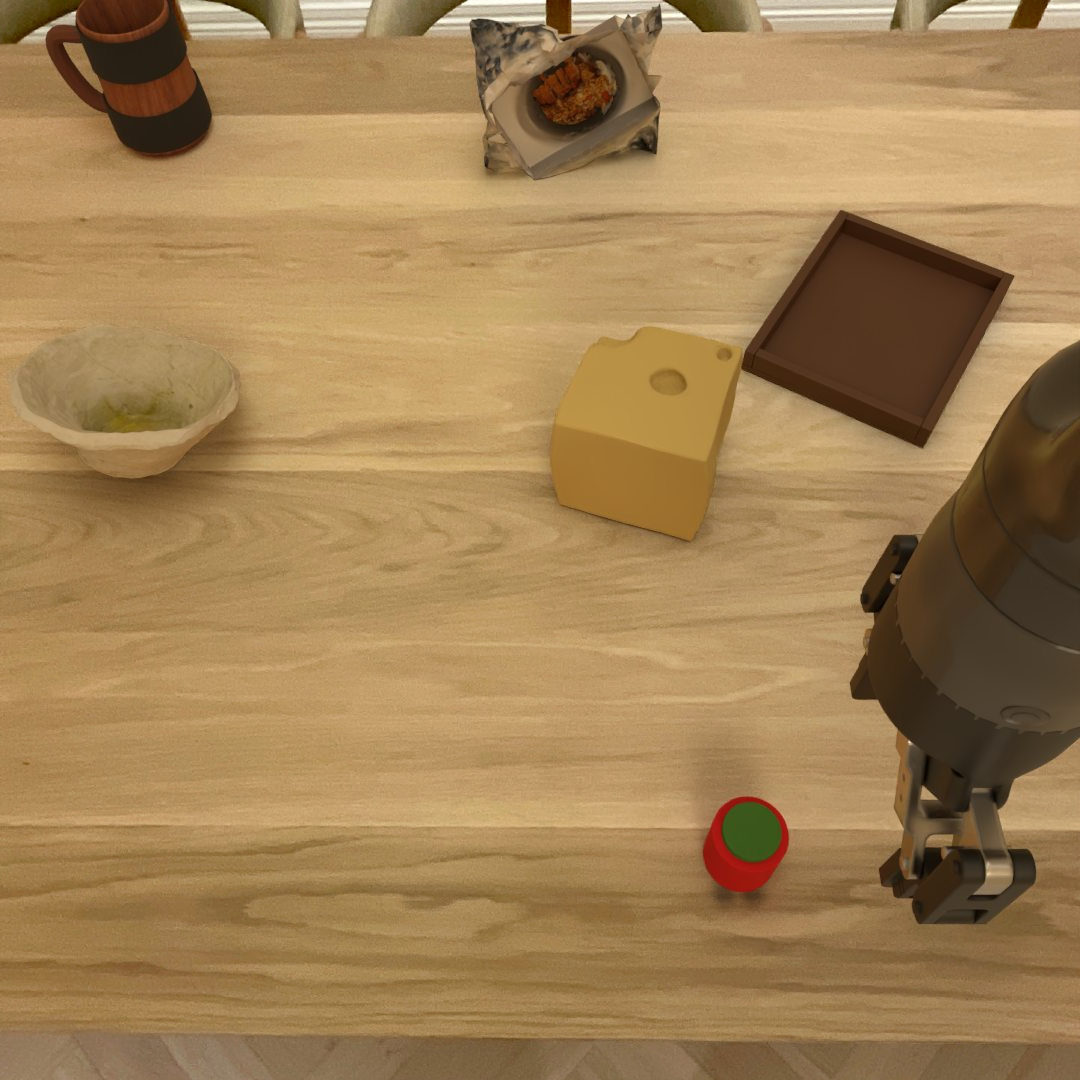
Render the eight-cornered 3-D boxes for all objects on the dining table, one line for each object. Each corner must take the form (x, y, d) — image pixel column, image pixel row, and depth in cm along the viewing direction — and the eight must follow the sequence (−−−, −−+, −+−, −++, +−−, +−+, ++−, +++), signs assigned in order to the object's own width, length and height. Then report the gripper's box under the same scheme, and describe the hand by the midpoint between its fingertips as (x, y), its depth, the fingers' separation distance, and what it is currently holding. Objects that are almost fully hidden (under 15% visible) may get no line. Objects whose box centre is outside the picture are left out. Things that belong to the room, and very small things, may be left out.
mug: (96, 99, 100) (43, -22, 90) (223, 99, 99) (184, -22, 89) (71, 161, 95) (13, 41, 85) (204, 162, 95) (161, 41, 85)
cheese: (594, 399, 80) (597, 305, 72) (734, 435, 78) (754, 343, 70) (549, 509, 75) (546, 422, 67) (697, 551, 73) (714, 467, 65)
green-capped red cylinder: (787, 843, 63) (804, 817, 58) (755, 906, 61) (770, 884, 56) (722, 807, 64) (734, 778, 60) (690, 867, 62) (699, 843, 58)
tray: (1005, 294, 85) (1015, 275, 83) (923, 448, 77) (931, 431, 75) (835, 228, 89) (840, 208, 87) (740, 368, 81) (744, 350, 80)
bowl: (298, 420, 80) (265, 328, 71) (167, 557, 74) (114, 474, 65) (153, 339, 84) (106, 243, 76) (18, 462, 78) (-50, 373, 70)
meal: (643, 129, 96) (653, -11, 85) (656, 160, 94) (668, 21, 83) (480, 157, 95) (468, 18, 83) (489, 189, 92) (479, 51, 81)
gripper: (1212, 842, 30) (1006, 950, 44) (1082, 434, 37) (941, 637, 51) (943, 841, 30) (823, 949, 44) (866, 435, 37) (784, 637, 51)
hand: (886, 781), depth 48 cm, fingers open, 8 cm apart
